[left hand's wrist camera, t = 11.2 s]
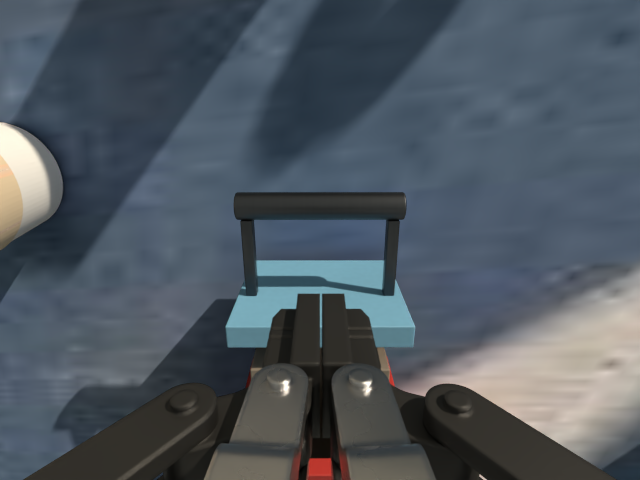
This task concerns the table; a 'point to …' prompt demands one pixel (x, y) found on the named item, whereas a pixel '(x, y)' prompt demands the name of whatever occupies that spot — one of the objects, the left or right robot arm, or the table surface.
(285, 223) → the table surface
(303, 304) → the left robot arm
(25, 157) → the coffee cup
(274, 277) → the drawer
